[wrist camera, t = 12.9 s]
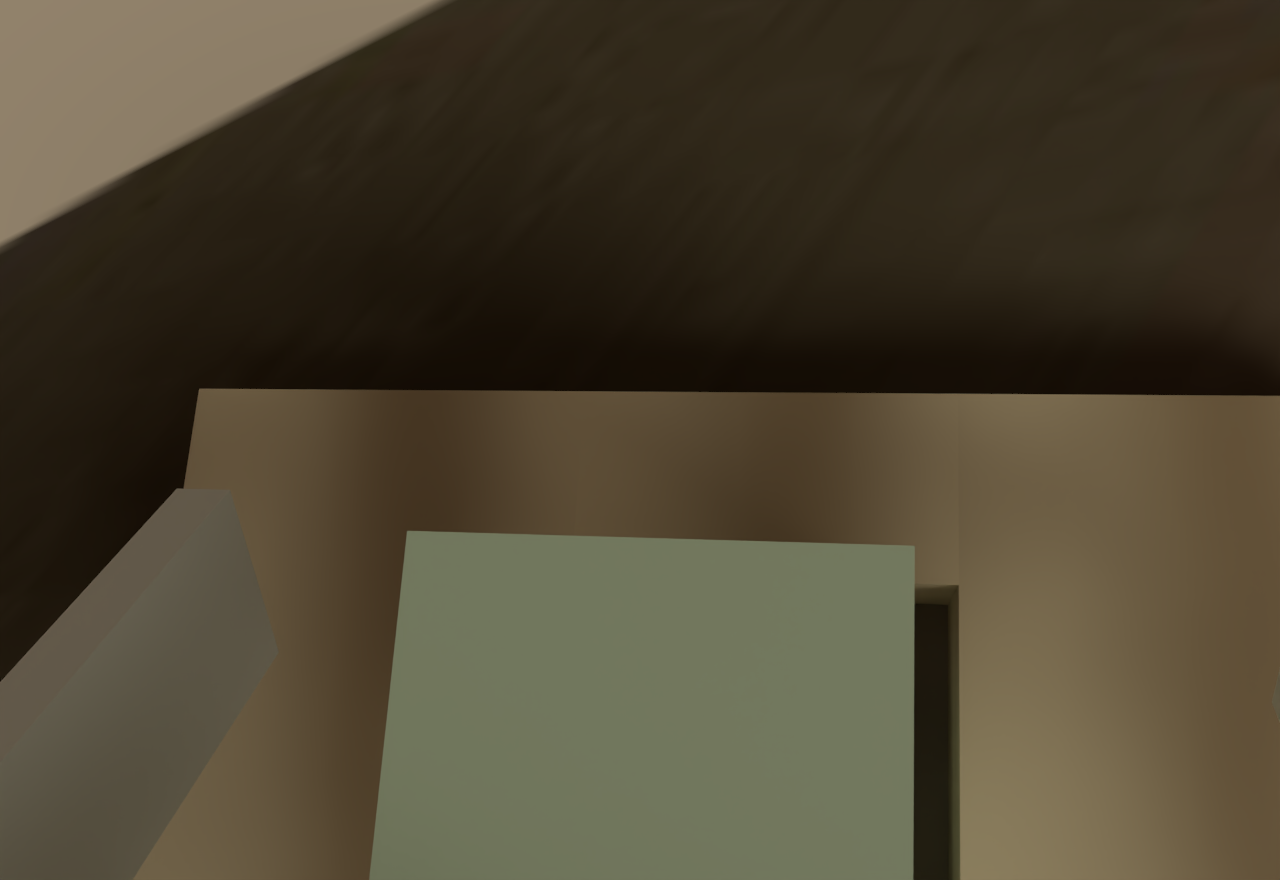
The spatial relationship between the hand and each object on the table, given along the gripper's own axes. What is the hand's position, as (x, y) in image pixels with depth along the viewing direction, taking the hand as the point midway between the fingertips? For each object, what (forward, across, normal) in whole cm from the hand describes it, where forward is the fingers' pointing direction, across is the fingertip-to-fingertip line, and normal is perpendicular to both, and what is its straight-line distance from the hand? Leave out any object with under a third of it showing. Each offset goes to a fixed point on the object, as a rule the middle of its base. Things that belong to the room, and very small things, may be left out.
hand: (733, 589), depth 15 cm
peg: (+3, 0, -6) cm, 7 cm away
